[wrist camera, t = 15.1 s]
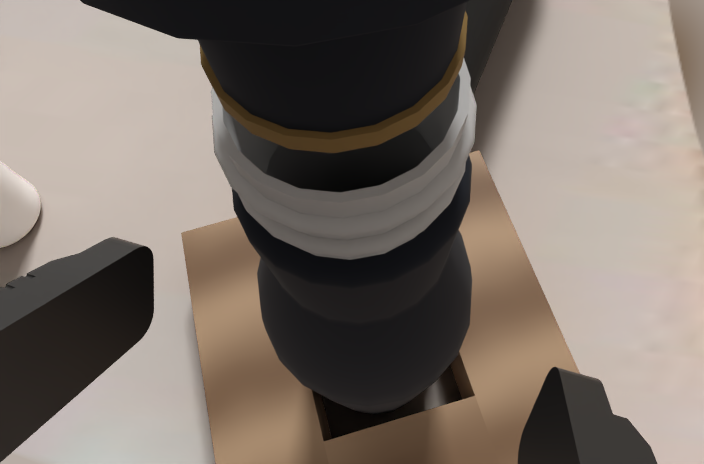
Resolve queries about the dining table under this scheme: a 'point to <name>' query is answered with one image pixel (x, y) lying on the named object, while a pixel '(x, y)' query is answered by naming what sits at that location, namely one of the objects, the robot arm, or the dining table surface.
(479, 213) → the walnut jig
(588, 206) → the dining table surface
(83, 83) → the dining table surface
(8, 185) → the drinking glass
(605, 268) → the dining table surface
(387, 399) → the black bottle
